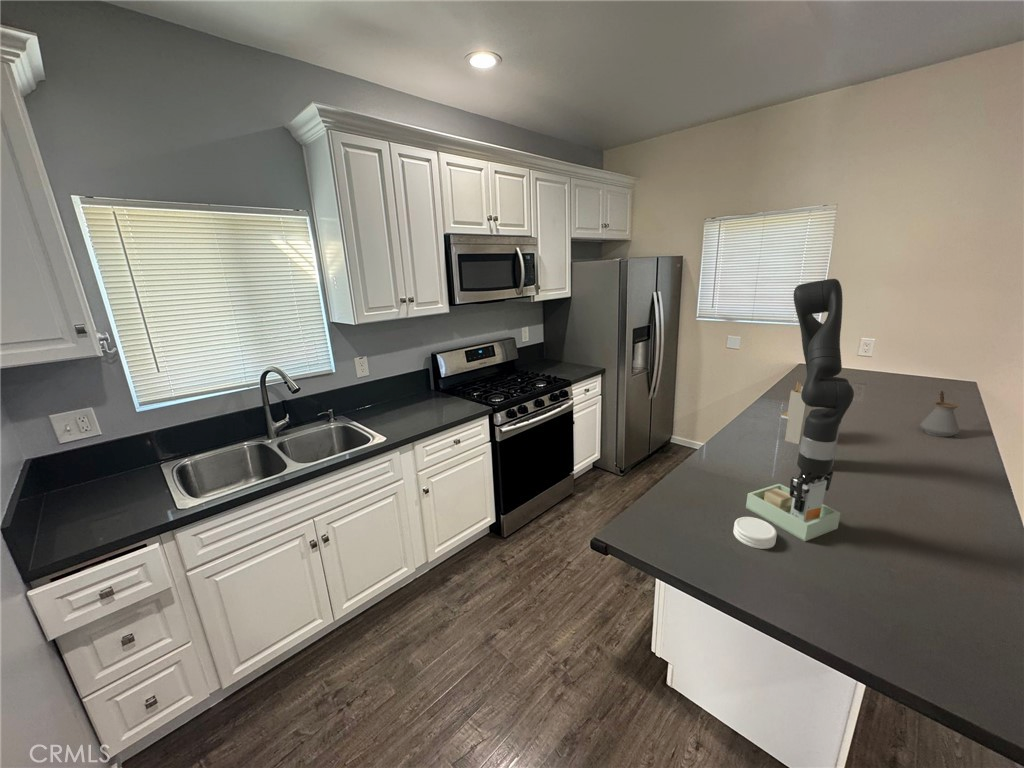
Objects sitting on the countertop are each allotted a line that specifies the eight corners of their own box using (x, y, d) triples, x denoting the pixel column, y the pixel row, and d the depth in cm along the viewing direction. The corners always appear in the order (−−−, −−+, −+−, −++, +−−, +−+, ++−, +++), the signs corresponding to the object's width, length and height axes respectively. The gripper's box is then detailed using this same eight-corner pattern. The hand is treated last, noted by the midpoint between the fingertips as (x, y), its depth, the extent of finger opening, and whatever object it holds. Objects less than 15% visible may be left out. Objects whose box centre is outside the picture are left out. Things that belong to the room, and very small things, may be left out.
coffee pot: (960, 441, 162) (969, 405, 158) (920, 434, 169) (928, 400, 165) (952, 425, 178) (961, 392, 174) (915, 420, 185) (923, 388, 181)
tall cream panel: (808, 437, 172) (818, 379, 165) (798, 445, 165) (808, 385, 159) (787, 432, 178) (796, 376, 171) (777, 439, 171) (785, 381, 164)
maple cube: (774, 502, 125) (776, 488, 123) (790, 511, 120) (792, 496, 119) (762, 506, 123) (764, 491, 122) (778, 515, 118) (780, 500, 117)
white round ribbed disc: (736, 522, 117) (738, 511, 116) (777, 534, 111) (779, 523, 110) (729, 540, 110) (731, 529, 109) (773, 555, 104) (775, 543, 103)
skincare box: (803, 523, 111) (810, 484, 108) (789, 514, 115) (795, 477, 112) (820, 519, 113) (828, 480, 109) (806, 510, 117) (812, 473, 113)
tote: (776, 497, 128) (779, 483, 127) (837, 528, 112) (840, 512, 111) (745, 507, 124) (747, 493, 122) (804, 541, 108) (807, 525, 106)
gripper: (819, 442, 114) (810, 495, 119) (784, 452, 109) (775, 507, 114) (849, 452, 108) (837, 508, 112) (812, 464, 103) (802, 521, 107)
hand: (806, 507), depth 113 cm, fingers closed on skincare box, 6 cm apart
